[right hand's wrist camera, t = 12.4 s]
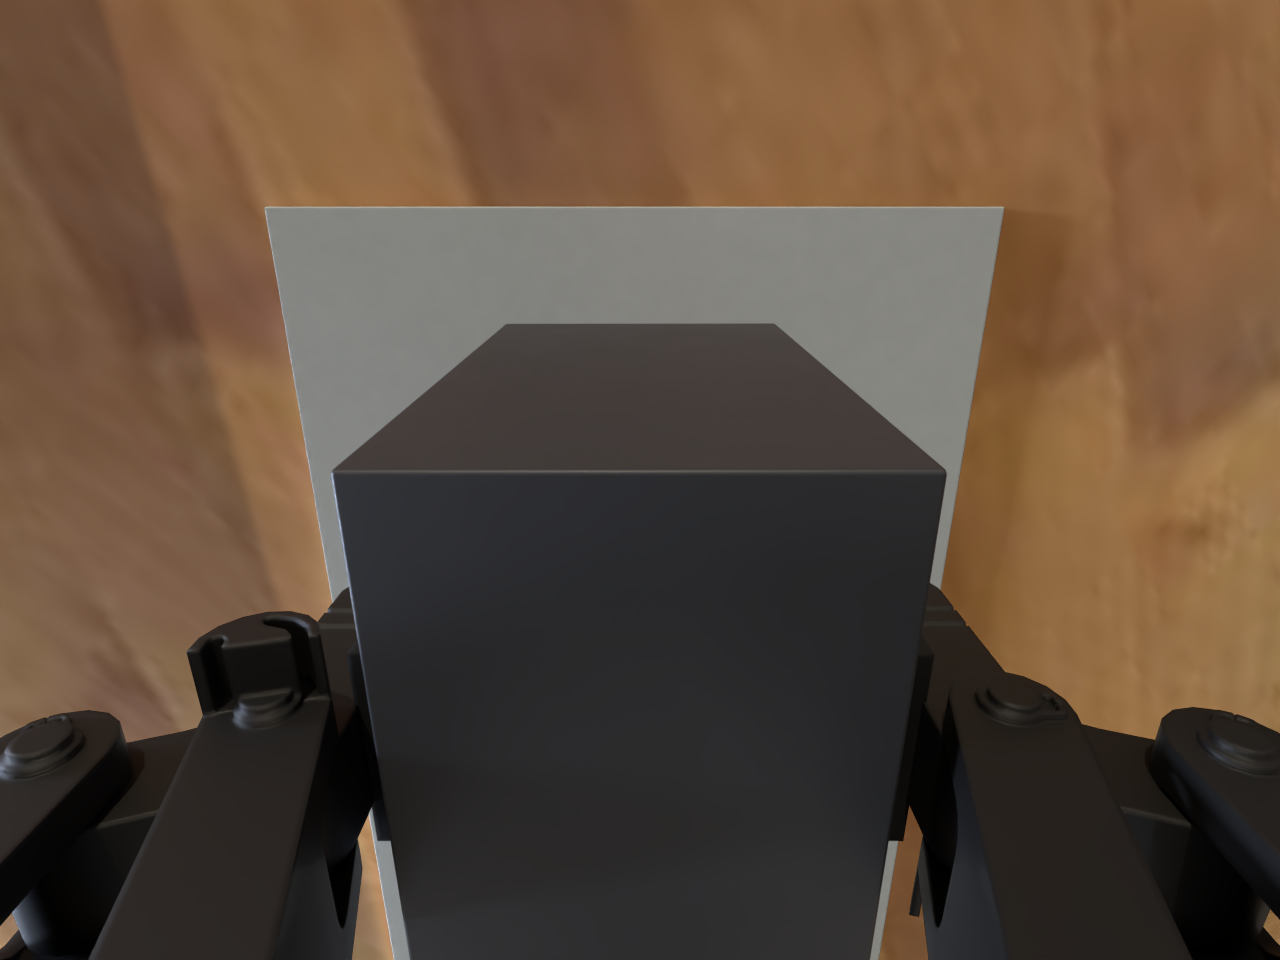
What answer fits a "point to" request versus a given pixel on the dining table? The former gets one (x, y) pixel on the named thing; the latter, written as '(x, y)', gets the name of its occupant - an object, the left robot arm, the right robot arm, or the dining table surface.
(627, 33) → the dining table surface
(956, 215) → the grey rubber mat
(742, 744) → the charcoal beam
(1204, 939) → the right robot arm
